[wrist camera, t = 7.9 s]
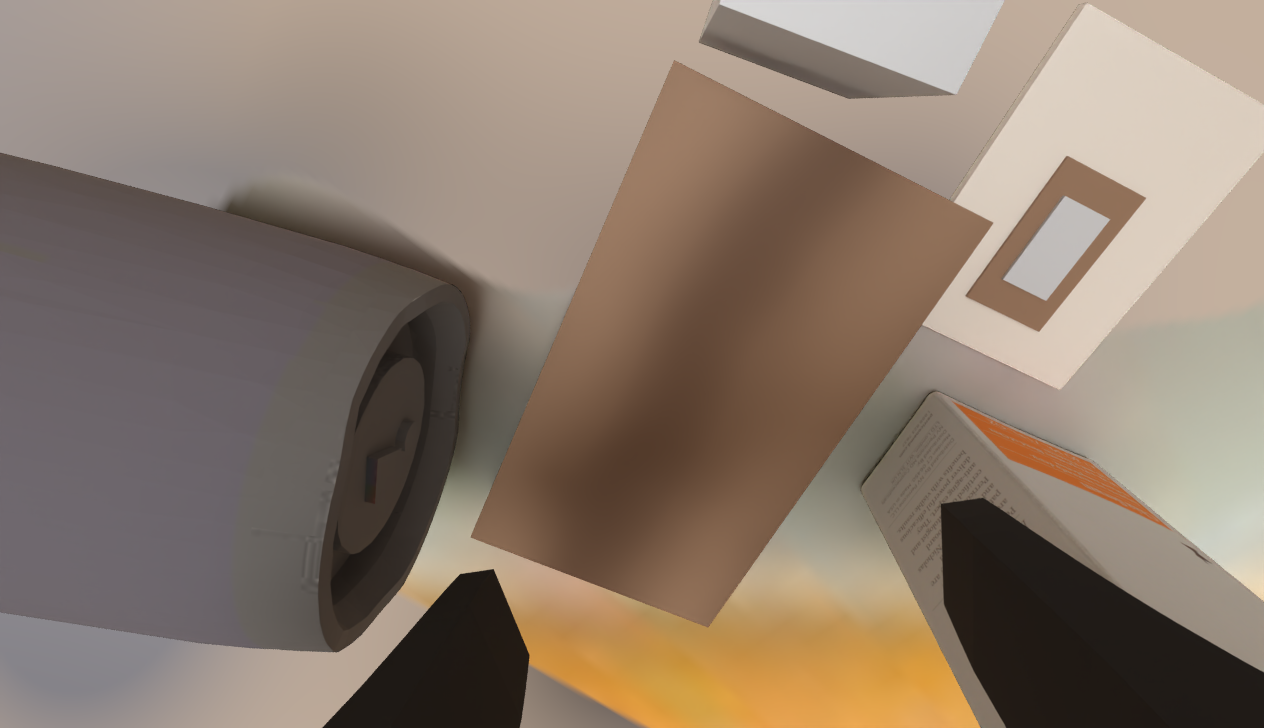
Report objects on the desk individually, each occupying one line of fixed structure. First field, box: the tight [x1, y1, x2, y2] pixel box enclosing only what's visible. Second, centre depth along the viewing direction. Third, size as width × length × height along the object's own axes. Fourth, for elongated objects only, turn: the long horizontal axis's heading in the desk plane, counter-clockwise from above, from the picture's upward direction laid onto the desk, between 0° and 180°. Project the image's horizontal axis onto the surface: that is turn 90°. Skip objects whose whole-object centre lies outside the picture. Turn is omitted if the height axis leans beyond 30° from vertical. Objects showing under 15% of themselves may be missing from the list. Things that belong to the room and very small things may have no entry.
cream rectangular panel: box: [922, 3, 1264, 390], centre depth 15 cm, size 6×8×1 cm
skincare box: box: [861, 392, 1264, 728], centre depth 13 cm, size 6×4×12 cm
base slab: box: [471, 61, 993, 627], centre depth 17 cm, size 8×14×2 cm, turn 156°
